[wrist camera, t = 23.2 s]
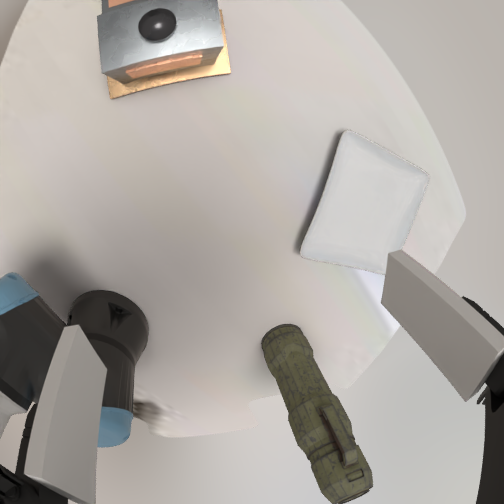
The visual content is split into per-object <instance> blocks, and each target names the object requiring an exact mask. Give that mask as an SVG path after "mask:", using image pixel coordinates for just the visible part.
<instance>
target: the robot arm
mask: <svg viewBox="0 0 504 504" xmlns="http://www.w3.org/2000/svg"><path fill="white" fill-rule="evenodd" d="M381 304H382V305H383V306H384V307H385V308H386V309H387V310H388V311H389V312H390V314H391V315H392V316H393V317H394V318H395V319H396V320H397V321H398V322H399V323H400V325H401V326H402V327H403V328H404V329H405V330H406V331H407V332H408V334H409V335H410V336H411V337H412V338H413V339H414V340H415V341H416V343H417V344H418V345H419V346H420V347H421V348H422V350H423V351H424V352H425V353H426V354H427V355H428V356H429V358H430V359H431V360H432V361H433V363H434V364H435V365H436V366H437V367H438V368H439V370H440V371H441V372H442V373H443V375H444V376H445V377H446V378H447V379H448V381H449V382H450V383H451V384H452V386H453V387H454V388H455V389H456V391H457V392H458V393H459V394H460V396H461V397H462V398H463V399H464V401H465V402H466V401H467V400H469V399H470V398H471V397H473V396H474V395H475V394H476V393H477V392H478V391H479V390H480V389H481V387H482V386H483V384H484V383H486V384H487V387H486V388H485V390H484V391H483V392H482V394H481V395H480V397H479V398H478V400H477V404H480V402H481V401H482V400H483V398H484V397H485V399H484V401H483V403H482V404H483V405H485V442H484V454H483V464H482V472H481V479H480V485H479V491H478V496H477V501H476V504H504V328H503V327H502V326H501V325H500V324H499V323H498V322H497V321H495V320H494V319H493V318H492V317H490V316H489V314H488V313H487V312H486V311H483V309H482V308H481V307H480V306H479V305H478V304H476V303H475V302H474V301H472V300H470V299H468V298H466V297H464V296H463V297H460V296H459V295H458V294H457V293H455V292H454V291H453V290H452V289H451V288H450V287H448V286H447V285H446V284H445V283H444V282H442V281H441V280H440V279H439V278H437V277H436V276H435V275H434V274H432V273H431V272H430V271H429V270H427V269H426V268H425V267H424V266H422V265H421V264H420V263H418V262H417V261H416V260H414V259H413V258H412V257H410V256H409V255H408V254H407V253H405V252H404V251H402V250H397V251H394V252H391V253H388V258H387V266H386V274H385V281H384V287H383V294H382V299H381ZM67 325H68V326H67ZM67 325H66V324H65V323H64V322H63V321H62V320H61V319H60V318H59V317H58V316H57V315H56V314H55V313H54V312H53V311H52V310H51V309H50V307H49V306H48V305H47V304H46V303H45V302H44V301H43V300H42V298H41V297H40V296H39V293H38V292H36V291H34V290H33V288H32V287H31V286H30V285H29V284H28V283H27V282H26V281H25V280H24V279H23V278H22V277H21V276H20V275H19V274H17V273H13V272H12V273H8V274H6V275H4V276H3V277H2V278H1V279H0V438H1V436H2V434H3V432H4V429H5V427H6V425H7V423H8V421H9V419H10V417H11V416H12V415H14V414H21V413H26V412H27V411H28V409H29V407H30V405H31V403H32V401H33V402H35V403H36V404H34V405H33V407H32V408H31V410H30V411H29V413H28V415H27V419H26V423H25V429H24V431H23V435H22V436H23V438H22V440H21V444H20V449H19V455H18V460H17V466H16V471H15V474H14V473H12V472H11V471H9V470H8V469H6V468H5V467H3V466H2V465H1V464H0V504H68V499H70V500H72V501H74V502H76V503H78V504H96V495H95V494H96V462H97V447H113V446H117V445H120V444H122V443H124V442H125V441H126V440H127V439H128V438H129V436H130V431H131V422H132V419H133V391H134V372H135V365H136V363H137V361H138V359H139V357H140V355H141V354H142V352H143V351H144V349H145V347H146V345H147V341H148V331H149V330H148V323H147V320H146V318H145V316H144V314H143V313H142V311H141V310H140V309H139V308H138V307H137V306H136V305H135V304H134V303H133V302H132V301H130V300H129V299H127V298H126V297H124V296H122V295H119V294H117V293H113V292H109V291H100V290H99V291H91V292H87V293H85V294H83V295H81V296H80V297H78V298H77V299H76V300H75V302H74V303H73V305H72V307H71V309H70V312H69V315H68V320H67Z"/></svg>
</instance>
